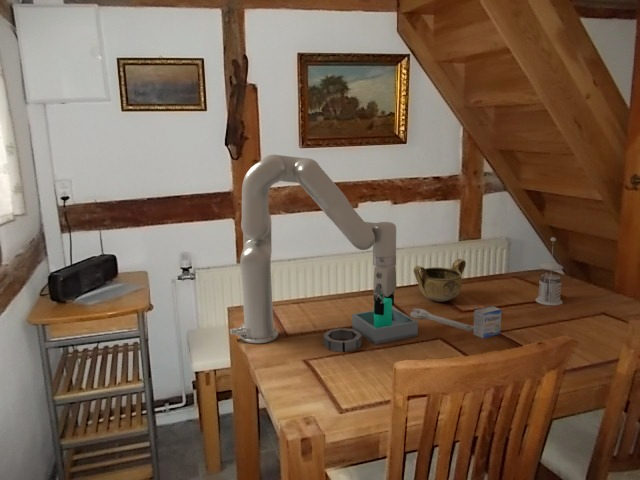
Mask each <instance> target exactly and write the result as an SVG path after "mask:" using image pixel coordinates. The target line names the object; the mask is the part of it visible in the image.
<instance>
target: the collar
mask: <svg viewBox="0 0 640 480" xmlns="http://www.w3.org/2000/svg"><path fill="white" fill-rule="evenodd" d="M322 335H323V336H322V337H323V340H322V341H323V342H322V343H323V346H324V348H326V349H327V350H330V351H332V352H333V351H334V352H340V353H343V352H344V353H347V352H352V351H356V350H358V349H359V348H360V347H361V346H362V341H363V335H362V334H360V333H359V332H358V331H356V330H354V329H353V328H346V327H345V328H344V327H342V328H340V327H339V328H334V329H329V330H327V331H326V332H325V333H324V334H322ZM340 339H343V340H340Z"/></svg>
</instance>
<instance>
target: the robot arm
mask: <svg viewBox="0 0 640 480" xmlns="http://www.w3.org/2000/svg"><path fill="white" fill-rule="evenodd" d="M319 164H320V163H318V162H317V161H316V160H315V159H312V158H308V157H307V158H306V157H299V156H298V157H297V156H289V155H287V156H286V155H281V154H268V155H266V156H265V157H263V158H262V160H261V159H260V161H258V162H257V163H255V164H254V165H252V166H251V167H250V168H249V170H247V172H246V174H245V175H244V178H243V181H242V187H241V221H240V227H241V232H242V239H243V240H242V244H243V247H242V251H241V254H240V257H239V258H240V259H239V261H240V262H239V264H240V275H241V289H242V305H243V306H242V307H243V320H244V321H243V322H241V325H240V326H239V327H234V328H230V330H229V333H230V335H235V336H237V337H240V340H241V341H243V342H245V343H249V344H265V343H269V342H272V341H274V340H276V339H278V337H279V330H278V329H276V328H274V309H273V308H274V307H273V289H272V271H271V270H272V267H271V264H272V260H271V258H272V216H271V214H270V213H269V212H270V210H269V209H270V207H269V204H270V189H271V187H272V186H273V185H275V184H277V183H279V182H285V183H294V184H296V183H297V184H299V185H300V186H301V188H302V189H303V190H304V192H306V194H307V195H308V196H310V198H312V200H313V201H314V203H316V204H317V206H318V207H319V208H320V210H322V212H323V213H324V214H325V215H326V217H327V218H328V219H329V220H330V221H331V222H332V223H333V224H334V225H335V226H336V227H337V229H338V230H339V231H340V232H341V234H343V235H344V237H345V238H346V239H347V240H348V241H349V242H350V243H351V245H352V246H353V247H354V248H355V249H358V250H360V251H367V250H369V249H371V248H372V265H373V266H374V270H373V293H372V295H373V310H374V314H377V315H384V303H383V300H384V298H391V299H392V307H394V305H395V295H394V294H395V291H396V290H397V268H396V266H397V225H396V224H395V223H394V222H389V221H378V222H371V221H364V220H363V218H362V217H361V216H360V215H359V213H358V212H357V211H356V209H354V207H353V206H352V204H351V203H350V201H349V200H348V198H347V197H346V195H345V194H344V192H343V191H342V190H341V189H340V188H339V186H338V185H336V184H335V182H334V180H332V179H331V177H329V175H328V174H327V173H326V172H325V171H324V170H323V168H322V167H321V166H320V165H319ZM380 297H381V299H380Z"/></svg>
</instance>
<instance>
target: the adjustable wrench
mask: <svg viewBox="0 0 640 480" xmlns="http://www.w3.org/2000/svg"><path fill="white" fill-rule="evenodd" d="M410 317H411V318H413V319H414V318H415V319H417V320H421V319H423V320H430V321H433V320H434V321H433V322H436V321H437V322H436V323H440V324H444V325H447V326H451V327H453V328H457V329H461V330H464V331H468V332H474V325H470V324H467V323H464V322H459V321H456V320H453V319H450V318H449V319H448V318H446V317H442V316H438V315H435V314H432V313H430V312H428V311H427V310H425V309H423V308H412V311H410Z"/></svg>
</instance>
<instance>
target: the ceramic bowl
mask: <svg viewBox="0 0 640 480" xmlns="http://www.w3.org/2000/svg"><path fill="white" fill-rule="evenodd" d="M466 265H467V262H466V260H464V259H462V258H455V260H454V262H453V263H452V265H451V267H448V268H447V267H440V266H439V267H438V266H436V267H435V266H434V267H433V266H432V267H426V268H424V267H423V266H420V265H415V266H414V268H413V273H414V277H415V279H416V281H417V285H418V288H419V290H420V292H421V293H422V295H423V296H424V297H425V298H427V299H428V300H430V301H433V302H437V303H438V302H439V303H440V302H441V303H442V302H448V301H451V300H453V299H454V298H456V297H457V296H458V295H459V293H460V292H461V289H462V285H463V277H462V275H463V274H464V273H463V272H464V270H465V268H466Z"/></svg>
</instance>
